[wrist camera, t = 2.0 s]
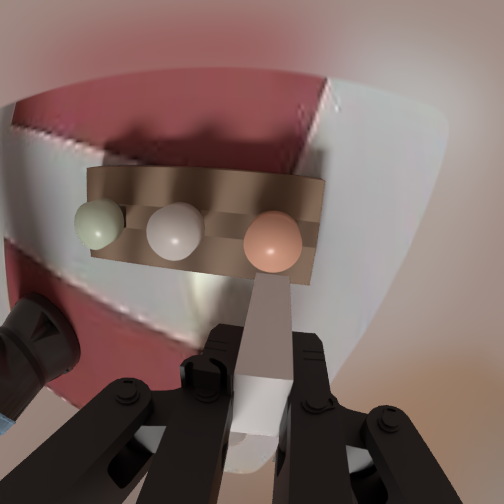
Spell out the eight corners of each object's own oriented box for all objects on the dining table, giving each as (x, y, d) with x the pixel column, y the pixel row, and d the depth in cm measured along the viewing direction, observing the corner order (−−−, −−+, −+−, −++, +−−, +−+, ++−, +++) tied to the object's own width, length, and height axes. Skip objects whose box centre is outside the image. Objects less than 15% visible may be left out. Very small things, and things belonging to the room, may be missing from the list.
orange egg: (247, 251, 26) (241, 269, 22) (251, 204, 25) (245, 213, 21) (295, 257, 26) (297, 275, 22) (301, 209, 24) (305, 220, 20)
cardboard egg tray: (104, 248, 31) (91, 256, 28) (102, 165, 28) (86, 168, 25) (306, 273, 30) (309, 285, 27) (320, 178, 26) (325, 180, 24)
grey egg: (165, 242, 27) (147, 257, 23) (165, 197, 25) (146, 205, 21) (209, 247, 26) (196, 263, 22) (211, 200, 25) (198, 209, 21)
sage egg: (99, 235, 27) (76, 247, 23) (97, 194, 26) (73, 201, 22) (133, 238, 27) (112, 252, 23) (132, 195, 25) (109, 203, 21)
